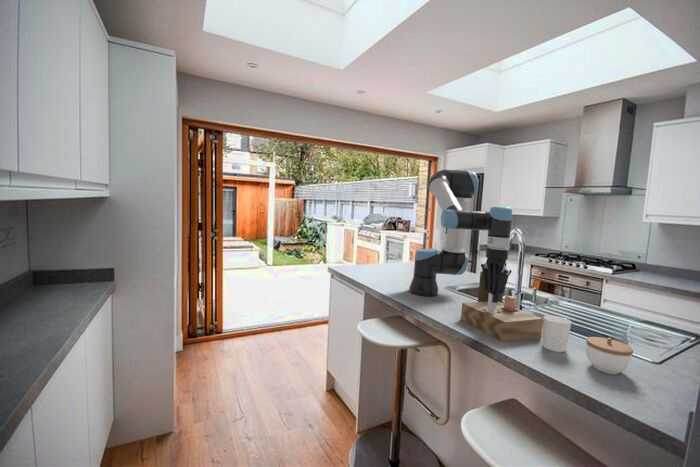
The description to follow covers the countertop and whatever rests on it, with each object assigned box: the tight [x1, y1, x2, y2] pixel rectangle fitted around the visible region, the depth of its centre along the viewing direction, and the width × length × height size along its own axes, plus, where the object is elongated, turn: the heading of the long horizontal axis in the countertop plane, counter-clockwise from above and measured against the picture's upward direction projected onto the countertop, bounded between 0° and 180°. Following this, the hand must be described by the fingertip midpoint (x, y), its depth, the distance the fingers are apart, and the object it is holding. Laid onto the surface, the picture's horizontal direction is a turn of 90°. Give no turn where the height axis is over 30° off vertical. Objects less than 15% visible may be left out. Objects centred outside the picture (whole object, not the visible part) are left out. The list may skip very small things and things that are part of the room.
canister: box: [477, 270, 504, 303], centre depth 145 cm, size 11×10×20 cm
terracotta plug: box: [504, 295, 517, 312], centre depth 126 cm, size 4×4×6 cm
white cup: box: [541, 314, 572, 353], centre depth 109 cm, size 8×8×10 cm
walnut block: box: [460, 301, 543, 343], centre depth 125 cm, size 22×18×7 cm
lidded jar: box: [585, 336, 634, 375], centre depth 95 cm, size 11×11×9 cm
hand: (491, 309), depth 123 cm, fingers closed
